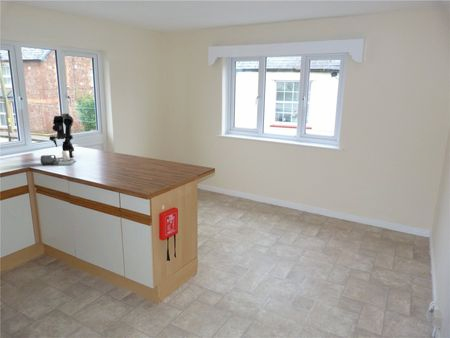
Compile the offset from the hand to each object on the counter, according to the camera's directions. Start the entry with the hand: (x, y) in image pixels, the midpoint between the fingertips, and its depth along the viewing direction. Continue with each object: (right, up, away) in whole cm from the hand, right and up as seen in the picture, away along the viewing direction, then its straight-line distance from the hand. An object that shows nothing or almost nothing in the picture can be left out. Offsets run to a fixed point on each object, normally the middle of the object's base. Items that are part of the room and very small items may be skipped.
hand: (62, 146), depth 304 cm
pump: (+7, -14, -8) cm, 18 cm away
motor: (+1, -16, -8) cm, 18 cm away
